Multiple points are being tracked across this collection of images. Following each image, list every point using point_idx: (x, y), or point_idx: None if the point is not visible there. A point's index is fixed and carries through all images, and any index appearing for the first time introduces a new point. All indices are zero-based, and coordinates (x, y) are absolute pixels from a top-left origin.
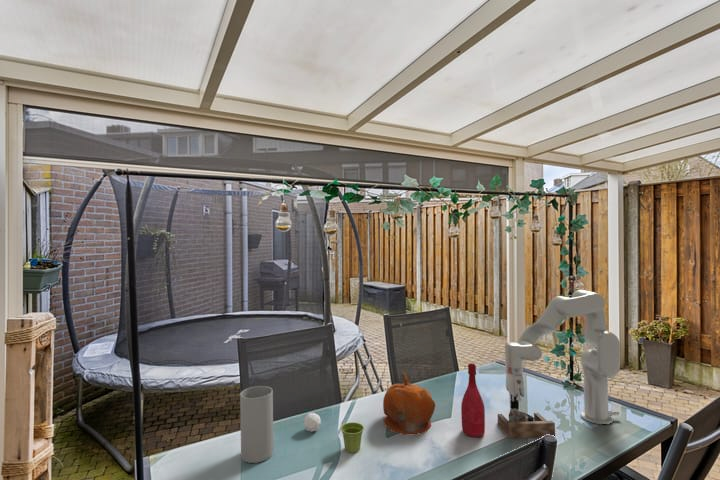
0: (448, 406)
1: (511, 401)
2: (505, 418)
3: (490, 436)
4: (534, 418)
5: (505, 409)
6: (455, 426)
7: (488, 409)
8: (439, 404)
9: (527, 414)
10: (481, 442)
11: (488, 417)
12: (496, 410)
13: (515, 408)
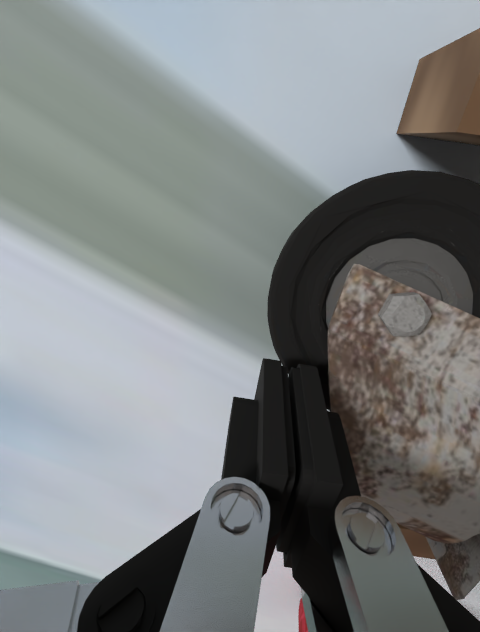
0: (34, 570)
1: (290, 555)
2: (408, 532)
3: (436, 563)
4: (429, 135)
5: (44, 287)
6: (270, 618)
7: (57, 418)
8: (13, 587)
9: (348, 213)
10: (464, 607)
11: (198, 475)
12: (74, 374)
13: (365, 463)
